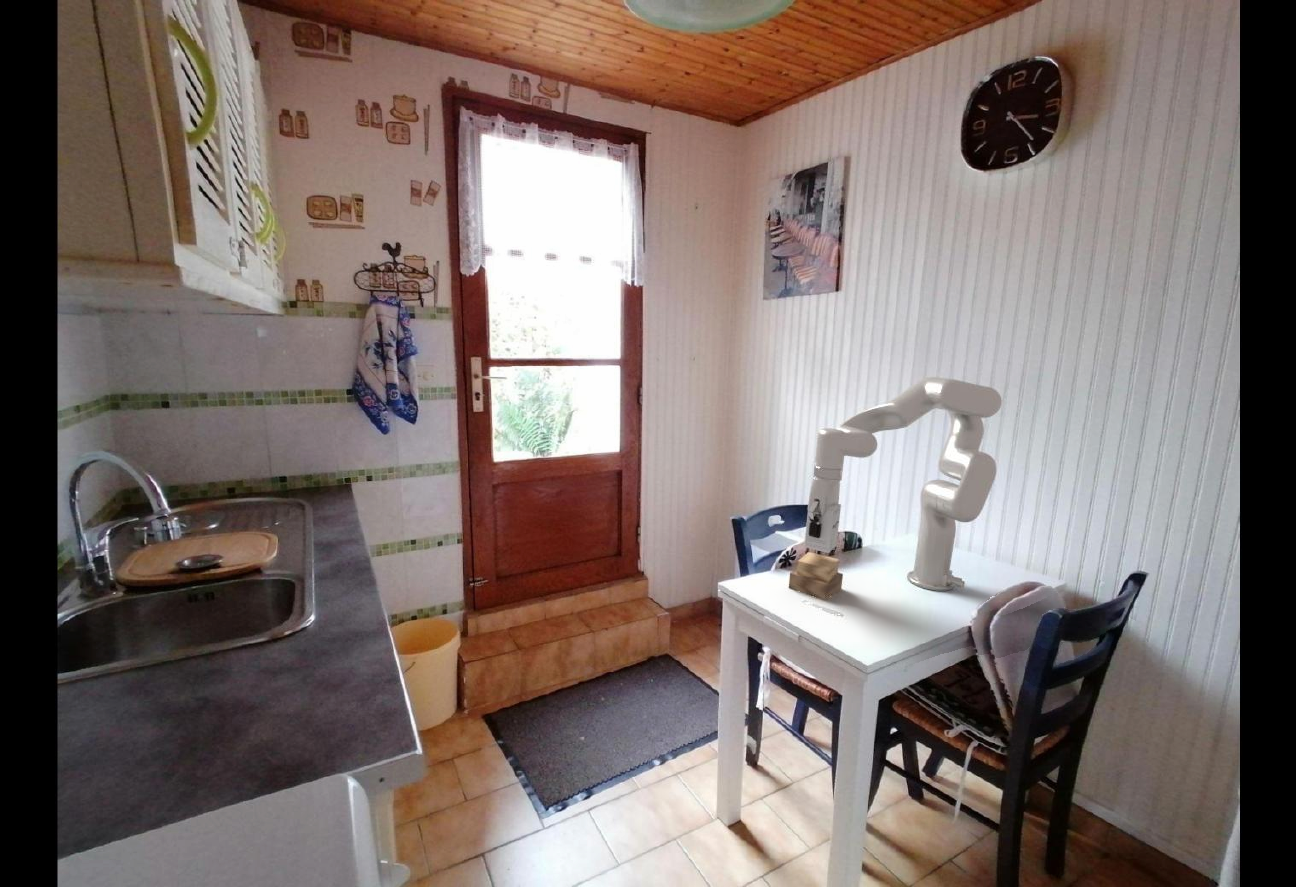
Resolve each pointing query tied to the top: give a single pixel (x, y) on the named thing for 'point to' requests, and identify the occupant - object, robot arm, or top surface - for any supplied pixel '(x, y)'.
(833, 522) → the supplement box
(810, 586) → the tower base
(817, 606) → the butter knife
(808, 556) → the tower top
